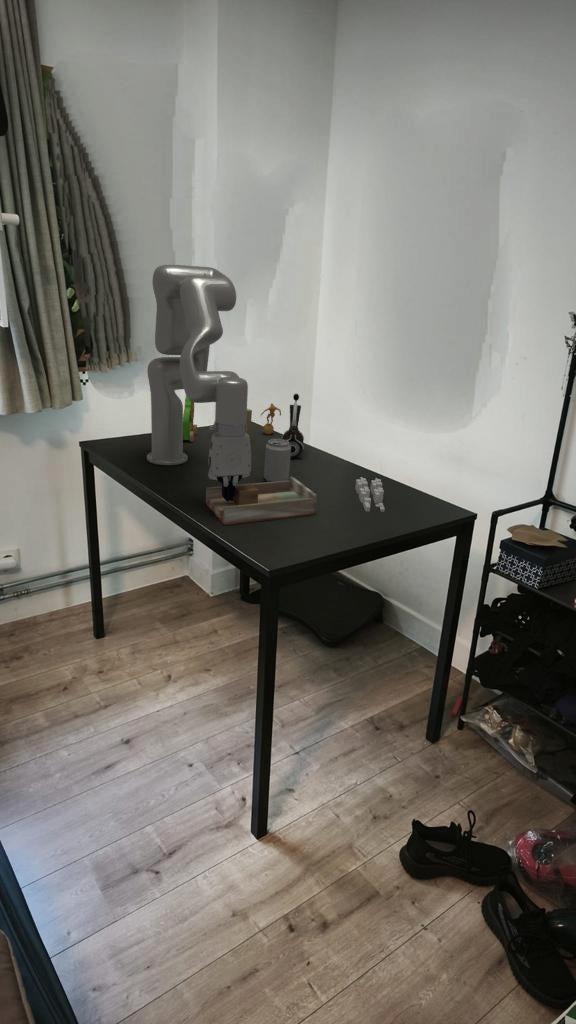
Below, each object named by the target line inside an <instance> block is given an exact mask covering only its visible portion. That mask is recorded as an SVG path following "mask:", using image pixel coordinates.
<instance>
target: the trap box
mask: <svg viewBox="0 0 576 1024" xmlns="http://www.w3.org/2000/svg"><path fill="white" fill-rule="evenodd" d="M251 484H252V485H254V486H255V487H256V488H257V489H258V503H256V504H247V505H237V503H236V502H235V501H234V500H233V501H226V500H225V499H224V498H223V497H222V485H221V486H211V487H206V489H205V504H206V506H207V507H208V508H209V509H210V510H211V512H212V513H214V515H215V516H216V518H218V520H219V521H220V522H221V523H222V524H223V525H224V526H227V525H228V526H229V525H236V524H244V523H245V524H246V523H255V522H261V521H272V520H280V519H287V518H288V519H290V518H297V517H304V516H305V517H306V516H314V515H316V506H317V497H318V496H317V493H315V492H313V490H312V489H310V488H308V487H307V486H306V485H305V484H304V483H302V482H300V481H299V480H298V479H296V478H295V477H294V476H289V479H288V480H287V481H276V482H268V481H267V482H255V483H251Z"/></svg>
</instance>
